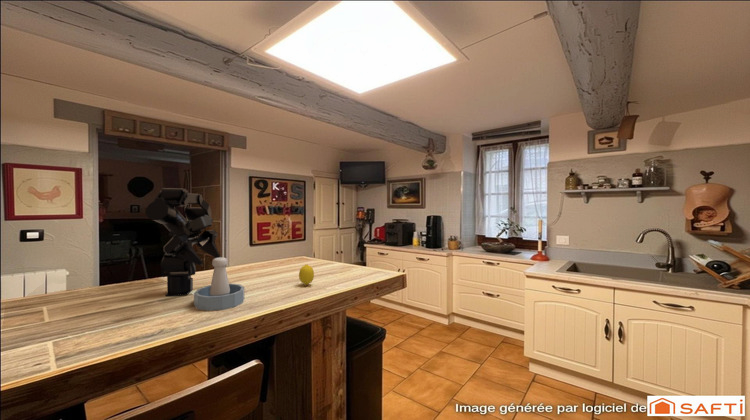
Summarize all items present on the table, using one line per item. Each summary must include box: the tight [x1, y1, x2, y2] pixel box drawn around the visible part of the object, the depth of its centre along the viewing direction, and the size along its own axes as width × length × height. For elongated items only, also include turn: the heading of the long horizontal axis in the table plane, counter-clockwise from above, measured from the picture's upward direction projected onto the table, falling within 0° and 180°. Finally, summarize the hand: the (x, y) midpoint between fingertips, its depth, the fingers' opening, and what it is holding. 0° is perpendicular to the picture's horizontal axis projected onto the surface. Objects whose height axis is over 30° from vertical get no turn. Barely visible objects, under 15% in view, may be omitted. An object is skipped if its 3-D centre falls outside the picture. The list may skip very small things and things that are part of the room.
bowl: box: [193, 282, 245, 312], centre depth 99 cm, size 14×14×4 cm
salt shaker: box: [210, 256, 230, 296], centre depth 99 cm, size 6×6×13 cm
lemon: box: [298, 264, 315, 286], centre depth 119 cm, size 6×6×8 cm
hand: (210, 260), depth 99 cm, fingers open, 9 cm apart
